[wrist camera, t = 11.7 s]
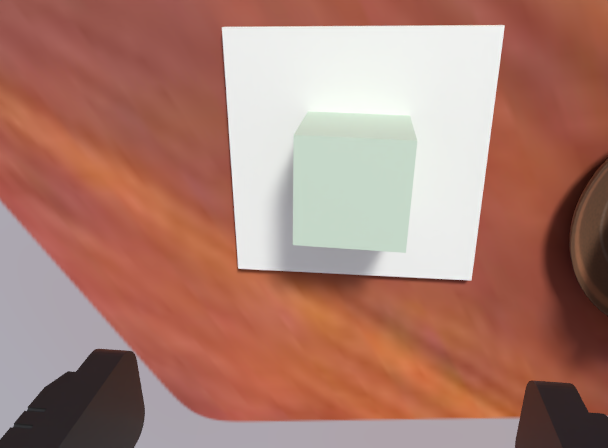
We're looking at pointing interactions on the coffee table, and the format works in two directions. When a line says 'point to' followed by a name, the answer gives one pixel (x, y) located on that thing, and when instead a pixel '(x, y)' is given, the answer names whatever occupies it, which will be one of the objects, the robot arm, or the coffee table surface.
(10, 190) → the coffee table surface
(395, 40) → the mat
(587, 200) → the cup and saucer
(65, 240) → the coffee table surface
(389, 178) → the sage cube
